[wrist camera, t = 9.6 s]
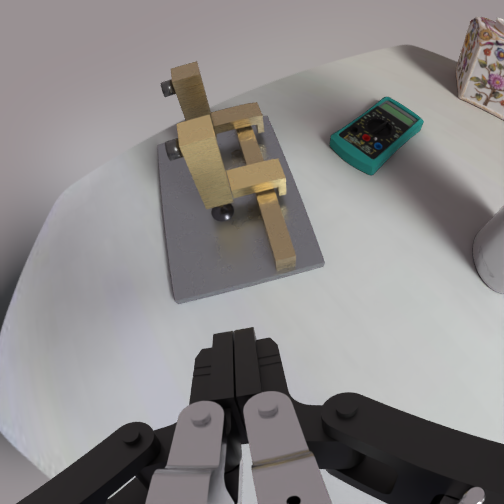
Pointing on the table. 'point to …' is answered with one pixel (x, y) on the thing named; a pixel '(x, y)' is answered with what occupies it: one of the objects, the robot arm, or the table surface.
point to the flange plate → (229, 227)
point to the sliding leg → (220, 166)
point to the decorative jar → (483, 66)
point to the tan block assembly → (240, 118)
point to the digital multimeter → (375, 135)
